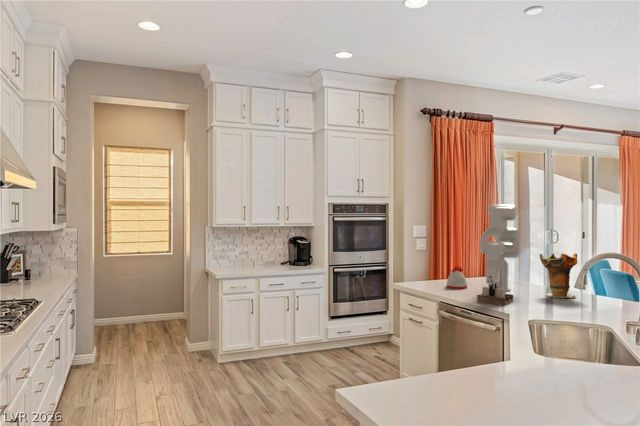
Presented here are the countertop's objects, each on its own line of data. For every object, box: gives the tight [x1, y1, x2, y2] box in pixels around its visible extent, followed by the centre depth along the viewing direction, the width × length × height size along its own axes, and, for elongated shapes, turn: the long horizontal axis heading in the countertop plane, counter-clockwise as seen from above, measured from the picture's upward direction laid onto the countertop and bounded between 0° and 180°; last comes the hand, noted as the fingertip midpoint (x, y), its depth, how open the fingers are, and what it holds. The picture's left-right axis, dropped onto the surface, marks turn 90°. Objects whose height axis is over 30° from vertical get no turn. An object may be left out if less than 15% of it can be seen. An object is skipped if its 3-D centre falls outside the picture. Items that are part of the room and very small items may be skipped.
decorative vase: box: [539, 252, 578, 299], centre depth 285 cm, size 21×23×28 cm
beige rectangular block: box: [481, 286, 506, 298], centre depth 264 cm, size 3×12×7 cm, turn 50°
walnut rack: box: [476, 292, 514, 306], centre depth 267 cm, size 15×16×4 cm
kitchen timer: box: [446, 265, 468, 290], centre depth 316 cm, size 14×14×15 cm
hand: (493, 294), depth 264 cm, fingers open, 4 cm apart
